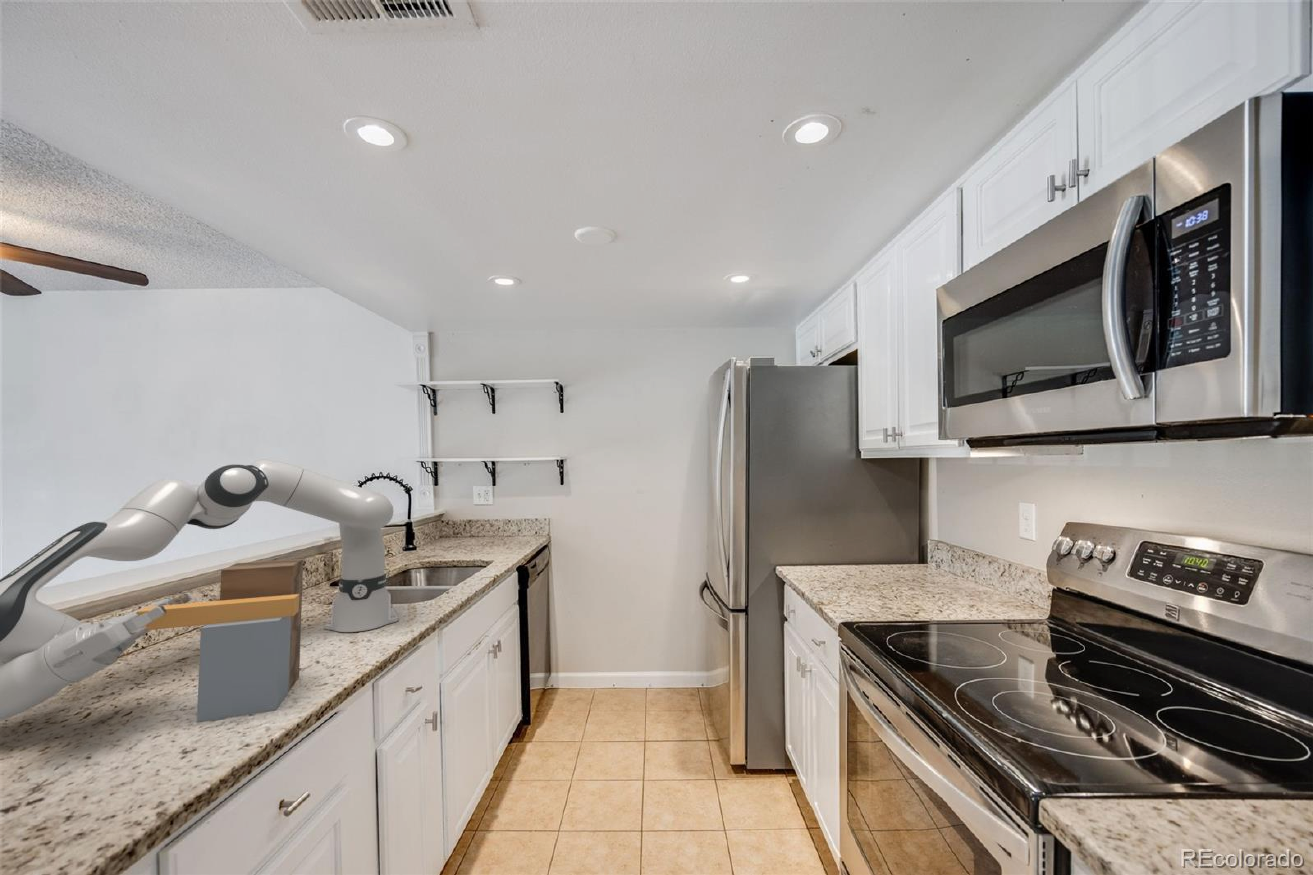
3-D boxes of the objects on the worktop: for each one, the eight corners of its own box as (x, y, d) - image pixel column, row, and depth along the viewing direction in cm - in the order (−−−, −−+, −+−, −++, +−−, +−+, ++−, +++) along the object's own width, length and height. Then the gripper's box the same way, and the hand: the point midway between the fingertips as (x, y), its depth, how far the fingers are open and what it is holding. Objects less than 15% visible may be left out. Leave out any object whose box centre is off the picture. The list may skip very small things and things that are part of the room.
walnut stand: (231, 686, 107) (236, 563, 108) (299, 677, 111) (303, 558, 113) (215, 703, 99) (221, 570, 101) (288, 692, 104) (292, 565, 105)
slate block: (215, 703, 99) (219, 616, 100) (288, 692, 104) (291, 609, 105) (196, 722, 92) (200, 628, 93) (276, 710, 97) (279, 620, 97)
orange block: (146, 625, 94) (146, 606, 94) (298, 611, 103) (299, 594, 104) (135, 631, 91) (136, 611, 91) (293, 616, 100) (294, 598, 100)
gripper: (32, 655, 80) (133, 603, 85) (112, 618, 99) (191, 577, 104) (57, 687, 81) (156, 633, 86) (132, 644, 100) (209, 602, 104)
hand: (176, 602), depth 95 cm, fingers open, 8 cm apart
